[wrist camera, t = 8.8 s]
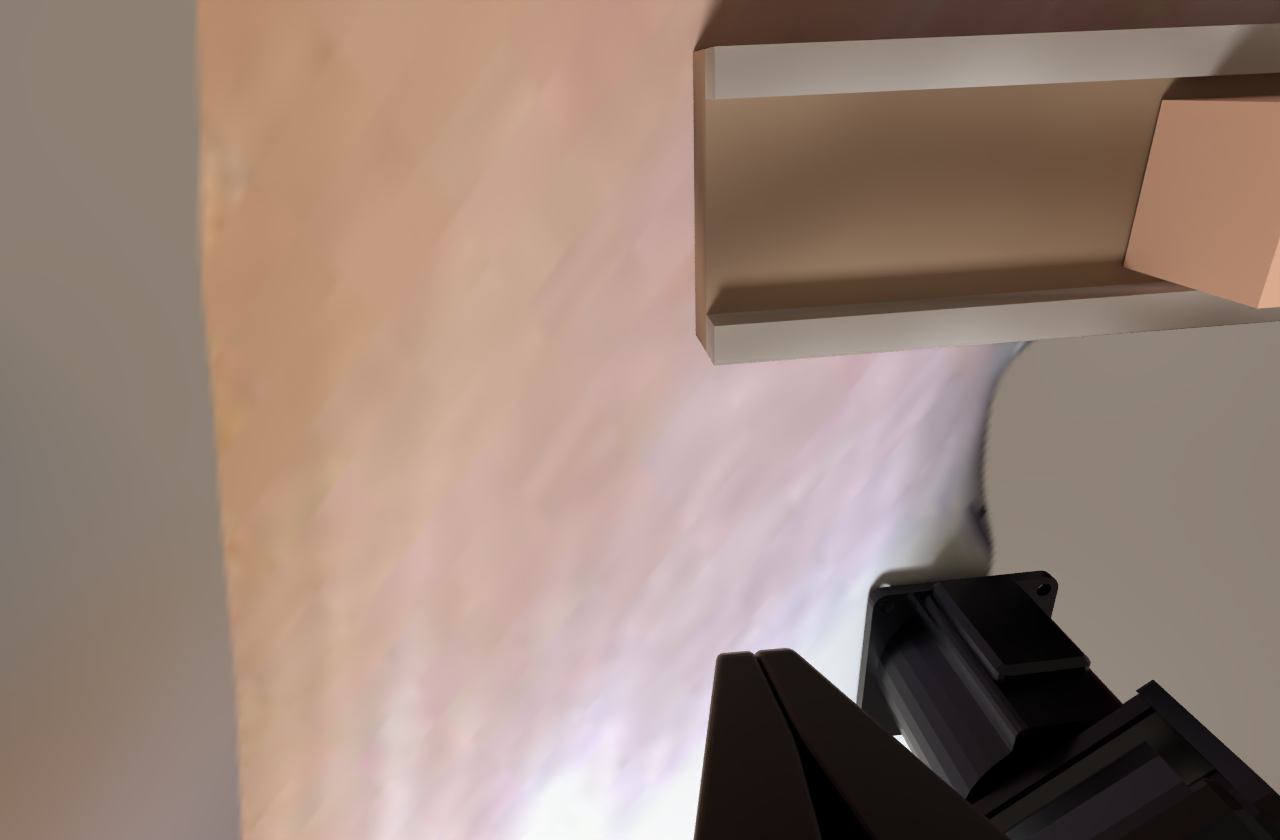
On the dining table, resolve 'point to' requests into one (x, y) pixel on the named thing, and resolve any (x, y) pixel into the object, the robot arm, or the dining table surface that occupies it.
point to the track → (944, 187)
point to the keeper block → (1213, 199)
